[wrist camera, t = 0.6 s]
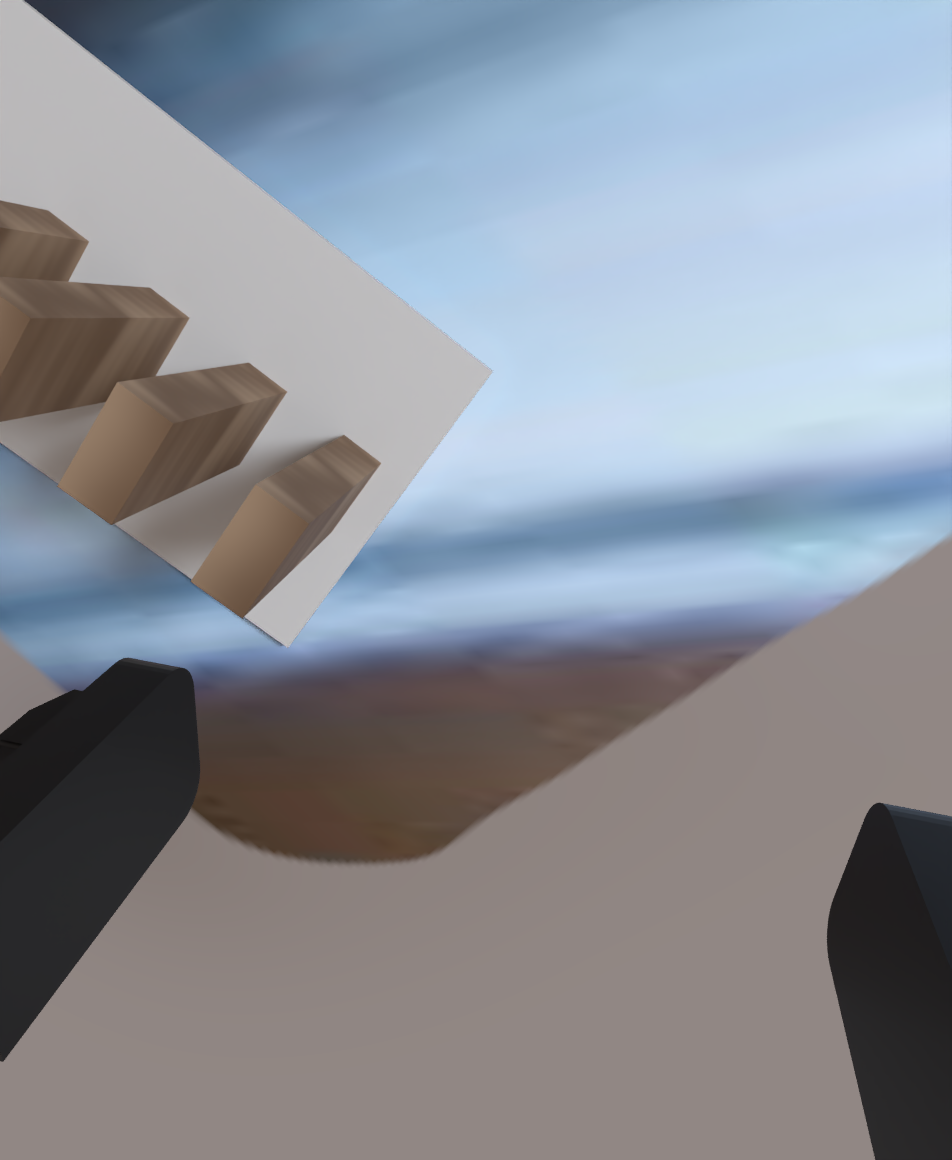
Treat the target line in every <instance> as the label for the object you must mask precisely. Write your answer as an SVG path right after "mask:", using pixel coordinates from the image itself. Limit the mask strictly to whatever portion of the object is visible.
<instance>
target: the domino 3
mask: <svg viewBox="0 0 952 1160" xmlns="http://www.w3.org/2000/svg"><path fill="white" fill-rule="evenodd" d="M286 393H287V391H286V390H284V389H283V388H282V387H280V386H279V385H278V384H276V383H275V382H274V381H272V380H271V379H270V378H269V377H267V376H266V375H265V374H263V373H262V372H261V371H259V370H258V369H257V368H255V367H254V366H253V365H251V364H250V363H242V364H236V365H229V366H222V367H216V368H209V369H202V370H195V371H189V372H182V373H175V374H168V375H162V376H155V377H148V378H142V379H135V380H128V381H121V382H117V383H116V385H115V387H114V389H113V390H112V392H111V394H110V396H109V397H108V399H107V401H106V403H105V404H104V406H103V408H102V409H101V411H100V413H99V415H98V416H97V418H96V420H95V422H94V423H93V425H92V427H91V429H90V430H89V432H88V434H87V436H86V437H85V439H84V441H83V442H82V444H81V446H80V448H79V449H78V451H77V453H76V455H75V456H74V458H73V460H72V462H71V463H70V465H69V467H68V469H67V470H66V472H65V474H64V475H63V477H62V479H61V481H60V482H59V484H58V486H57V487H59V488H60V489H62V490H63V491H64V492H66V493H67V494H69V495H70V496H71V497H73V498H74V499H76V500H77V501H78V502H80V503H81V504H83V505H84V506H85V507H87V508H88V509H90V510H91V511H92V512H94V513H95V514H97V515H98V516H99V517H101V518H102V519H104V520H105V521H106V522H108V523H109V524H111V525H112V524H115V523H117V522H119V521H121V520H123V519H125V518H127V517H129V516H132V515H134V514H136V513H138V512H140V511H142V510H144V509H147V508H149V507H151V506H153V505H155V504H157V503H159V502H161V501H164V500H166V499H168V498H170V497H172V496H174V495H176V494H179V493H181V492H183V491H185V490H187V489H189V488H191V487H194V486H196V485H198V484H200V483H202V482H204V481H206V480H208V479H211V478H213V477H215V476H217V475H219V474H221V473H223V472H226V471H228V470H230V469H232V468H234V467H236V466H238V465H240V463H241V462H242V460H243V459H244V457H245V456H246V454H247V453H248V451H249V450H250V448H251V447H252V445H253V444H254V442H255V440H256V439H257V437H258V436H259V434H260V433H261V431H262V430H263V428H264V427H265V425H266V424H267V422H268V421H269V419H270V418H271V416H272V414H273V413H274V411H275V410H276V408H277V407H278V405H279V404H280V402H281V401H282V399H283V398H284V396H285V395H286Z"/></svg>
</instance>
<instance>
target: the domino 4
mask: <svg viewBox="0 0 952 1160" xmlns="http://www.w3.org/2000/svg"><path fill="white" fill-rule="evenodd" d="M380 464H381V462H379V461H378V460H377V459H375V458H374V457H373V456H371V455H370V454H369V453H367V452H366V451H365V450H363V449H362V448H361V447H359V446H358V445H357V444H356V443H354V442H353V441H352V440H350V439H349V438H348V437H346V436H345V435H343V436H341V437H339V438H338V439H336V440H334V441H332V442H330V443H329V444H327V445H325V446H323V447H321V448H320V449H318V450H316V451H314V452H312V453H311V454H309V455H307V456H305V457H303V458H302V459H300V460H298V461H296V462H295V463H293V464H291V465H289V466H287V467H286V468H284V469H282V470H280V471H278V472H277V473H275V474H273V475H271V476H269V477H268V478H266V479H264V480H262V481H260V482H259V483H257V484H255V486H254V487H253V489H252V490H251V492H250V493H249V495H248V496H247V498H246V499H245V501H244V502H243V504H242V505H241V507H240V508H239V510H238V511H237V513H236V514H235V516H234V517H233V519H232V520H231V522H230V523H229V525H228V526H227V528H226V529H225V531H224V532H223V534H222V535H221V537H220V538H219V540H218V541H217V543H216V544H215V546H214V547H213V549H212V550H211V552H210V553H209V555H208V556H207V558H206V559H205V561H204V562H203V564H202V565H201V567H200V568H199V570H198V571H197V573H196V574H195V576H194V577H193V579H192V580H191V582H192V583H193V584H195V585H196V586H198V587H199V588H200V589H202V590H203V591H205V592H206V593H207V594H209V595H210V596H212V597H213V598H214V599H216V600H217V601H219V602H220V603H221V604H223V605H224V606H226V607H227V608H228V609H230V610H231V611H233V612H234V613H235V614H237V615H238V616H240V617H241V618H243V617H244V616H245V615H246V614H247V613H249V612H250V611H251V610H252V609H253V608H254V607H255V606H256V605H257V604H258V603H259V602H260V601H261V600H262V599H263V598H264V597H265V596H266V595H267V594H268V593H269V592H270V591H271V590H272V589H273V588H274V587H276V586H277V585H278V584H279V583H280V582H281V581H282V580H283V579H284V578H285V577H286V576H287V575H288V574H289V573H290V572H291V571H292V570H293V569H294V568H295V567H296V566H297V565H298V564H299V563H300V562H301V561H303V560H304V559H305V558H306V557H307V556H308V555H309V554H310V553H311V552H312V551H313V550H314V549H315V548H316V547H317V546H318V545H319V544H320V543H321V542H322V541H323V540H324V539H325V538H326V537H327V536H328V535H329V534H331V532H332V531H333V530H334V528H335V527H336V526H337V524H338V523H339V521H340V520H341V519H342V517H343V516H344V514H345V513H346V512H347V510H348V509H349V507H350V506H351V505H352V503H353V502H354V501H355V499H356V498H357V496H358V495H359V494H360V492H361V491H362V489H363V488H364V487H365V485H366V484H367V482H368V481H369V480H370V478H371V477H372V476H373V474H374V473H375V471H376V470H377V469H378V467H379V466H380Z"/></svg>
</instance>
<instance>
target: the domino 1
mask: <svg viewBox="0 0 952 1160" xmlns="http://www.w3.org/2000/svg"><path fill="white" fill-rule="evenodd" d="M88 243H89V241H88V240H87V239H85V238H84V237H83V236H81V235H80V234H79V233H77V232H76V231H75V230H73V229H72V228H71V227H69V226H68V225H67V224H65V223H64V222H63V221H61V220H60V219H59V218H58V217H56V216H55V215H54V214H52V213H51V212H50V211H48V210H44V209H39V208H35V207H30V206H25V205H20V204H15V203H11V202H6V201H1V200H0V277H10V278H24V279H38V280H52V281H65V282H68V281H69V279H70V277H71V275H72V273H73V271H74V270H75V268H76V266H77V264H78V262H79V260H80V258H81V256H82V255H83V253H84V251H85V249H86V247H87V245H88Z"/></svg>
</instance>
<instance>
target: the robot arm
mask: <svg viewBox="0 0 952 1160" xmlns="http://www.w3.org/2000/svg"><path fill="white" fill-rule="evenodd" d="M199 778H200V760H199V747H198V733H197V720H196V706H195V693H194V683H193V679H192V676H191V674H190V672H189V671H188V670H186V669H185V668H180V667H174V666H169V665H164V664H159V663H153V662H148V661H143V660H138V659H132V658H123V659H121V660H119V661H118V662H116V663H115V664H114V665H113V666H111V667H110V668H109V669H108V670H107V671H106V672H104V673H103V674H102V675H101V676H100V677H99V678H98V679H96V680H95V681H94V682H93V683H92V684H91V685H90V686H88V687H87V688H86V689H85V690H84V691H79V690H72V691H70V692H68V693H65V694H63V695H61V696H59V697H57V698H55V699H53V700H50V701H48V702H46V703H44V704H42V705H40V706H38V707H36V708H33V709H31V710H29V711H28V712H27V713H26V714H24V715H23V716H22V717H21V718H20V719H18V720H17V721H16V722H15V723H14V724H12V725H11V726H10V727H9V728H7V729H6V730H5V731H4V732H3V733H1V734H0V1061H4V1060H5V1058H6V1057H7V1056H8V1054H9V1053H10V1052H11V1050H12V1049H13V1048H14V1046H15V1045H16V1044H17V1042H18V1041H19V1040H20V1038H21V1037H22V1036H23V1034H24V1033H25V1032H26V1030H27V1029H28V1028H29V1026H30V1025H31V1024H32V1022H33V1021H34V1020H35V1018H36V1017H37V1016H38V1014H39V1013H40V1012H41V1010H42V1009H43V1008H44V1006H45V1005H46V1004H47V1002H48V1001H49V1000H50V998H51V997H52V996H53V994H54V993H55V992H56V990H57V989H58V988H59V986H60V985H61V984H62V982H63V981H64V980H65V978H66V977H67V976H68V974H69V973H70V972H71V970H72V969H73V968H74V966H75V965H76V964H77V962H78V961H79V960H80V958H81V957H82V956H83V954H84V953H85V952H86V950H87V949H88V948H89V946H90V945H91V944H92V942H93V941H94V940H95V938H96V937H97V936H98V934H99V933H100V932H101V930H102V929H103V928H104V926H105V925H106V924H107V922H108V921H109V920H110V918H111V917H112V916H113V914H114V913H115V912H116V910H117V909H118V907H119V906H120V905H121V904H122V902H123V901H124V900H125V898H126V897H127V896H128V894H129V893H130V892H131V890H132V889H133V887H134V886H135V885H136V883H137V882H138V881H139V880H140V878H141V877H142V875H143V874H144V873H145V871H146V870H147V869H148V868H149V866H150V865H151V864H152V862H153V861H154V859H155V858H156V857H157V855H158V854H159V853H160V852H161V850H162V849H163V848H164V846H165V845H166V843H167V842H168V841H169V839H170V838H171V837H172V835H173V834H174V833H175V831H176V830H177V829H178V827H179V826H180V825H181V823H182V822H183V821H184V819H185V818H186V816H187V814H188V813H189V811H190V809H191V806H192V804H193V802H194V799H195V796H196V793H197V789H198V784H199ZM827 947H828V948H827V949H828V958H829V963H830V967H831V972H832V976H833V981H834V985H835V989H836V994H837V997H838V1002H839V1006H840V1011H841V1015H842V1019H843V1023H844V1027H845V1032H846V1036H847V1040H848V1045H849V1049H850V1053H851V1057H852V1061H853V1066H854V1070H855V1075H856V1079H857V1083H858V1088H859V1092H860V1096H861V1100H862V1105H863V1109H864V1113H865V1117H866V1122H867V1126H868V1130H869V1135H870V1139H871V1143H872V1147H873V1151H874V1156H875V1160H952V817H951V816H947V815H941V814H936V813H931V812H926V811H920V810H915V809H909V808H905V807H899V806H893V805H888V804H883V803H876V804H874V805H873V806H872V807H871V808H870V809H869V811H868V813H867V815H866V817H865V819H864V822H863V825H862V827H861V829H860V832H859V835H858V837H857V840H856V842H855V845H854V847H853V850H852V853H851V855H850V858H849V860H848V863H847V865H846V868H845V871H844V873H843V875H842V878H841V881H840V883H839V886H838V889H837V891H836V893H835V896H834V899H833V902H832V905H831V909H830V914H829V919H828V929H827Z"/></svg>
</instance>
